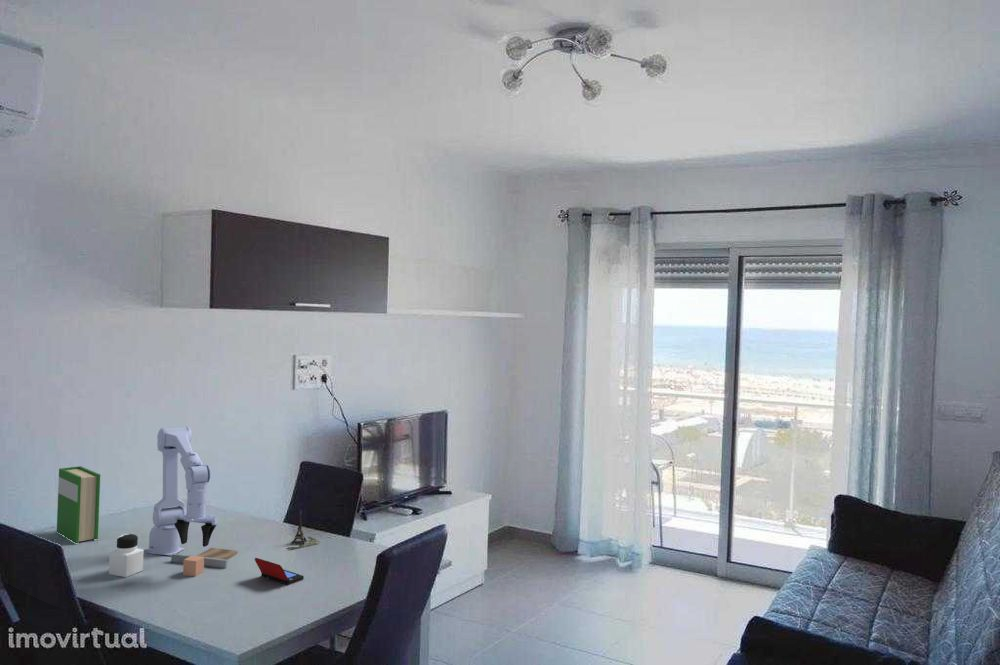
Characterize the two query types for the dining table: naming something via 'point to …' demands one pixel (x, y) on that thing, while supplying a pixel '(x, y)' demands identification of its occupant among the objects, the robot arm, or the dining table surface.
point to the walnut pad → (218, 553)
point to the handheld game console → (277, 572)
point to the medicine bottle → (126, 557)
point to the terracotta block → (193, 566)
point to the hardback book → (78, 503)
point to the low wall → (207, 561)
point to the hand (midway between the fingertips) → (194, 544)
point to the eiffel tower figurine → (302, 538)
